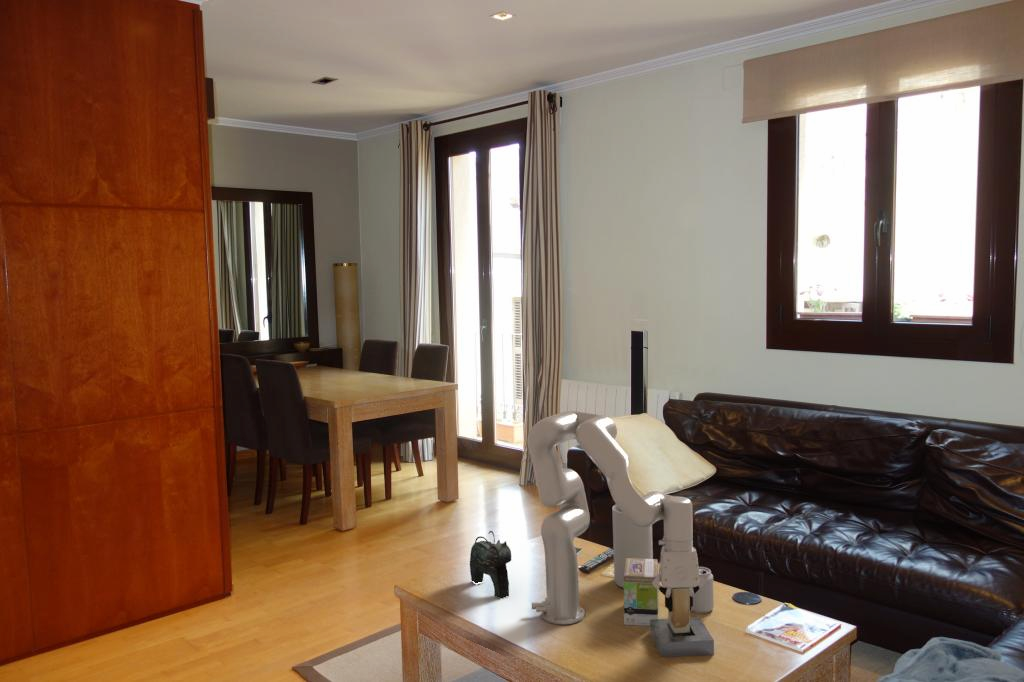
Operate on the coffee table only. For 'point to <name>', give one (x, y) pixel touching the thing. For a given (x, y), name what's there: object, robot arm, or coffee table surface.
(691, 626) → the holder
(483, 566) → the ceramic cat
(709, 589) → the can
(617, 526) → the cylinder vase
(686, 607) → the skincare box
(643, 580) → the tea box
